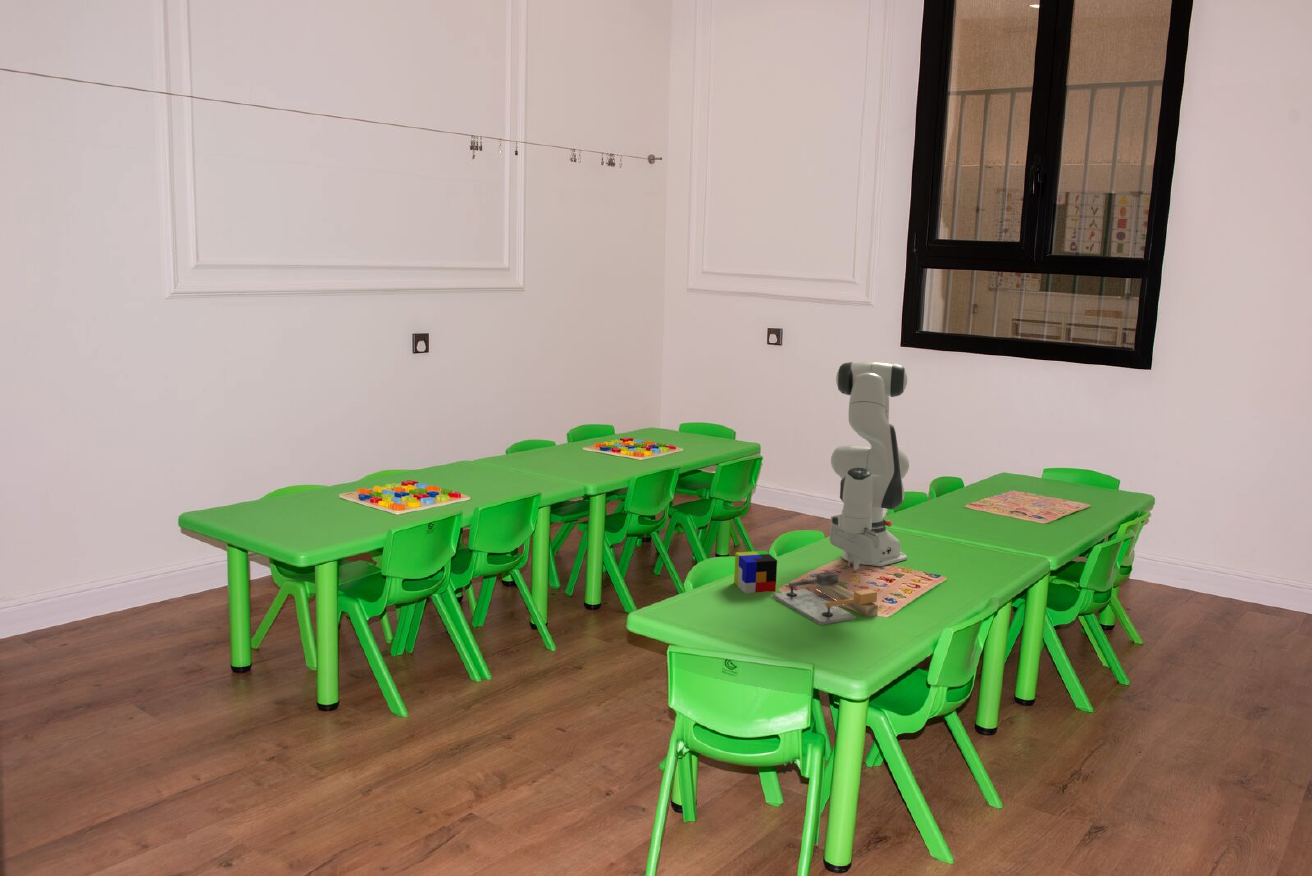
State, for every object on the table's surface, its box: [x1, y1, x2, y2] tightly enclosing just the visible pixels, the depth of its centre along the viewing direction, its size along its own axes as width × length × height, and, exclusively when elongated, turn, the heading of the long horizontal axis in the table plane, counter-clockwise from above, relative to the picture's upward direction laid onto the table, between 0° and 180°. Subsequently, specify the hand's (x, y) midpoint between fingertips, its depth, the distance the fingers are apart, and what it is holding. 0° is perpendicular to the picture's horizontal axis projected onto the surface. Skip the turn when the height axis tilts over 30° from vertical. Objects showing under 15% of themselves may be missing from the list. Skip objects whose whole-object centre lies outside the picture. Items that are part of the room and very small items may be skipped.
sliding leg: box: [825, 588, 878, 614], centre depth 302 cm, size 17×3×5 cm, turn 117°
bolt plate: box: [772, 588, 856, 626], centre depth 308 cm, size 12×25×1 cm, turn 27°
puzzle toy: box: [733, 550, 778, 594], centre depth 324 cm, size 10×10×10 cm
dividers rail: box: [788, 570, 879, 618], centre depth 310 cm, size 17×25×6 cm
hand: (853, 568), depth 310 cm, fingers closed
